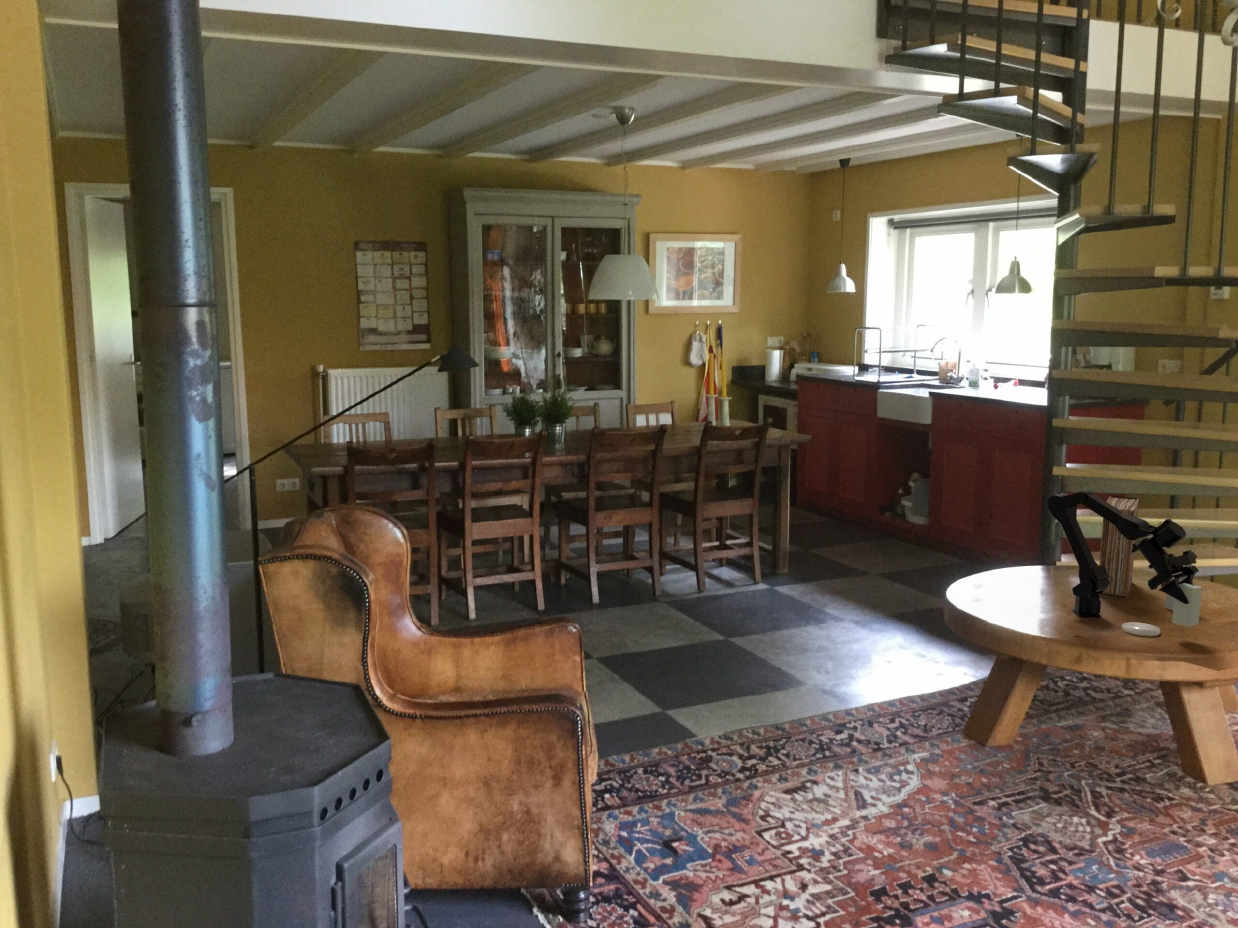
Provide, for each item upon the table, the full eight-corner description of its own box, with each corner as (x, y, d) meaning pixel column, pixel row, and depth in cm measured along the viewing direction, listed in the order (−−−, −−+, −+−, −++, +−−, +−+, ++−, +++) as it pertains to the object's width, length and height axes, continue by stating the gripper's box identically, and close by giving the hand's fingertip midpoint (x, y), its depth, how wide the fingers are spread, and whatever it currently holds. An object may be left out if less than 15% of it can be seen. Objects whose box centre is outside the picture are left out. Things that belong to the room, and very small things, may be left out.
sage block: (1189, 626, 296) (1193, 589, 294) (1172, 622, 300) (1175, 585, 298) (1198, 623, 299) (1202, 586, 297) (1180, 619, 303) (1184, 583, 301)
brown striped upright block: (1126, 598, 343) (1134, 509, 339) (1096, 594, 348) (1103, 506, 343) (1131, 581, 365) (1139, 497, 361) (1103, 578, 370) (1109, 495, 365)
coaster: (1131, 635, 302) (1131, 631, 302) (1116, 625, 312) (1116, 621, 312) (1166, 636, 302) (1166, 632, 302) (1149, 626, 312) (1150, 622, 312)
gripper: (1161, 545, 294) (1198, 591, 287) (1195, 537, 305) (1230, 582, 297) (1132, 566, 301) (1167, 612, 294) (1165, 558, 312) (1200, 602, 305)
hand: (1192, 602), depth 297 cm, fingers closed on sage block, 5 cm apart
